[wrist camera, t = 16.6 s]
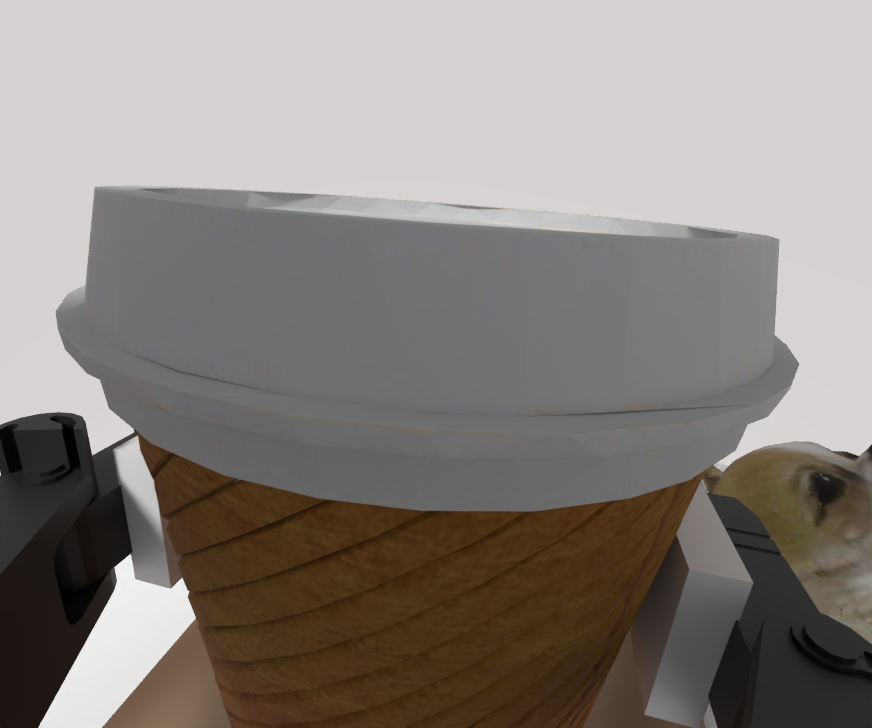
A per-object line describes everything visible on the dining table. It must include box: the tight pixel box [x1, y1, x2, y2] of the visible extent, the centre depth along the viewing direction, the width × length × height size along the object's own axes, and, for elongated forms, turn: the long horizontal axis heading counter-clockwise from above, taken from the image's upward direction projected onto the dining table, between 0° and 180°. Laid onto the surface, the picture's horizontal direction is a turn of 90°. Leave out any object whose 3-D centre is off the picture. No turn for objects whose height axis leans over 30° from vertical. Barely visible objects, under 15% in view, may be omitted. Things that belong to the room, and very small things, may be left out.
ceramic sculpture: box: [702, 442, 872, 644], centre depth 18 cm, size 11×9×15 cm
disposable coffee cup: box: [56, 186, 799, 728], centre depth 9 cm, size 10×10×12 cm
